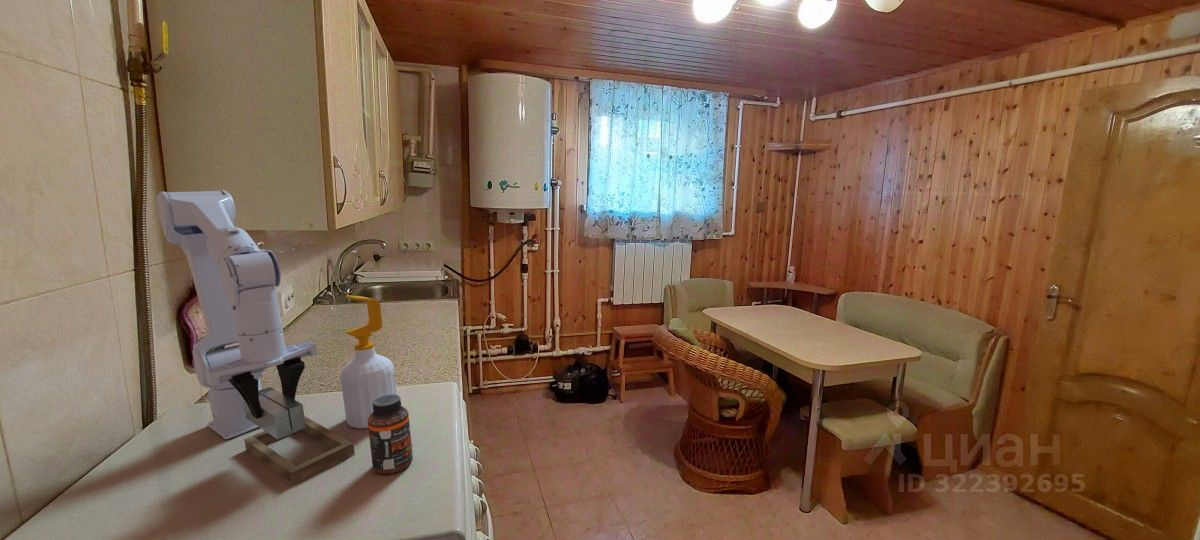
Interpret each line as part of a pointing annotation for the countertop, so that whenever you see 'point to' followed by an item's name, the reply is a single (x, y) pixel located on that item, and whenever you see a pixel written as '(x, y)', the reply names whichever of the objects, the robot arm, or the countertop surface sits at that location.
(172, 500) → the countertop surface
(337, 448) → the brown rectangular open frame
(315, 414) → the countertop surface
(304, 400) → the countertop surface
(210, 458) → the countertop surface
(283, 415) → the grooved grey block
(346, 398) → the soap bottle
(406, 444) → the supplement bottle
